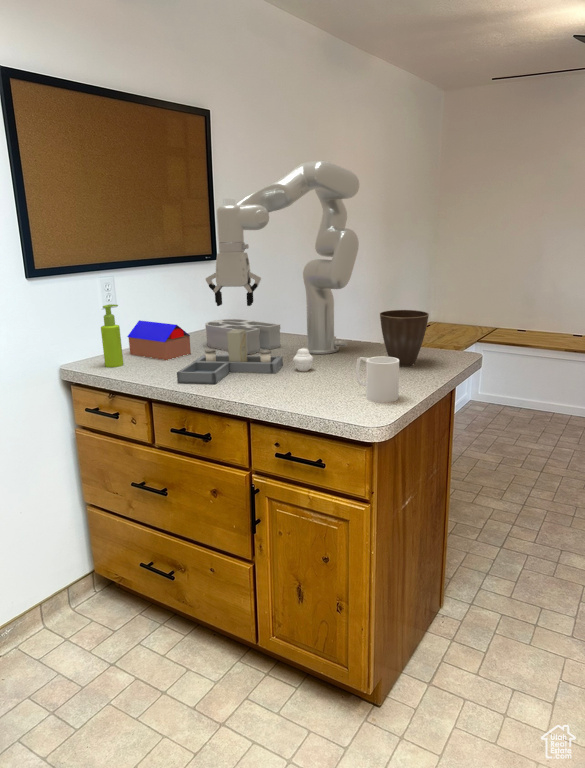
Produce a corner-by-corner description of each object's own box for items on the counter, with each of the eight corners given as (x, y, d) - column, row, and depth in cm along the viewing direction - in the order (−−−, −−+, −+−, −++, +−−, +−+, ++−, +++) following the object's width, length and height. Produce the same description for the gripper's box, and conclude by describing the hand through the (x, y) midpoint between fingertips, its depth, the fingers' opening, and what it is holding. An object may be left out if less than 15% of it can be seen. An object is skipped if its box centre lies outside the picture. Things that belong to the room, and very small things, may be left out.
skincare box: (242, 371, 183) (240, 332, 180) (228, 370, 184) (226, 332, 181) (247, 366, 189) (246, 328, 186) (234, 366, 190) (232, 328, 187)
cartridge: (272, 367, 186) (271, 349, 184) (269, 370, 183) (269, 351, 181) (262, 367, 187) (261, 349, 185) (259, 370, 183) (258, 351, 182)
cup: (363, 389, 160) (363, 353, 157) (404, 396, 153) (404, 358, 150) (347, 397, 153) (347, 359, 151) (389, 404, 146) (389, 365, 144)
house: (154, 348, 221) (152, 318, 218) (192, 354, 209) (189, 322, 206) (128, 355, 212) (125, 322, 209) (166, 361, 200) (163, 327, 197)
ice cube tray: (248, 356, 205) (247, 331, 202) (197, 346, 223) (196, 323, 221) (281, 347, 216) (280, 324, 214) (230, 339, 235) (229, 317, 232)
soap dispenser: (129, 363, 198) (123, 303, 193) (115, 367, 192) (108, 306, 187) (115, 361, 200) (109, 303, 195) (101, 366, 194) (94, 306, 189)
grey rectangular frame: (282, 365, 189) (282, 356, 188) (275, 373, 179) (275, 363, 178) (204, 363, 194) (203, 354, 193) (193, 371, 184) (192, 362, 184)
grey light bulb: (218, 366, 190) (217, 348, 188) (214, 369, 186) (213, 350, 185) (208, 366, 190) (206, 348, 189) (204, 369, 187) (203, 350, 185)
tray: (229, 372, 182) (229, 362, 181) (215, 384, 169) (214, 373, 168) (194, 371, 184) (193, 361, 183) (177, 383, 171) (176, 372, 170)
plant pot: (435, 362, 187) (437, 312, 183) (411, 371, 176) (412, 318, 172) (395, 356, 197) (396, 308, 192) (369, 364, 186) (370, 314, 182)
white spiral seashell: (309, 373, 178) (309, 350, 177) (290, 371, 180) (290, 349, 179) (316, 368, 184) (315, 346, 182) (297, 367, 186) (297, 345, 184)
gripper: (262, 247, 178) (264, 303, 183) (208, 248, 182) (211, 303, 186) (256, 248, 171) (258, 307, 176) (199, 249, 175) (203, 307, 179)
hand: (234, 305), depth 181 cm, fingers open, 9 cm apart
